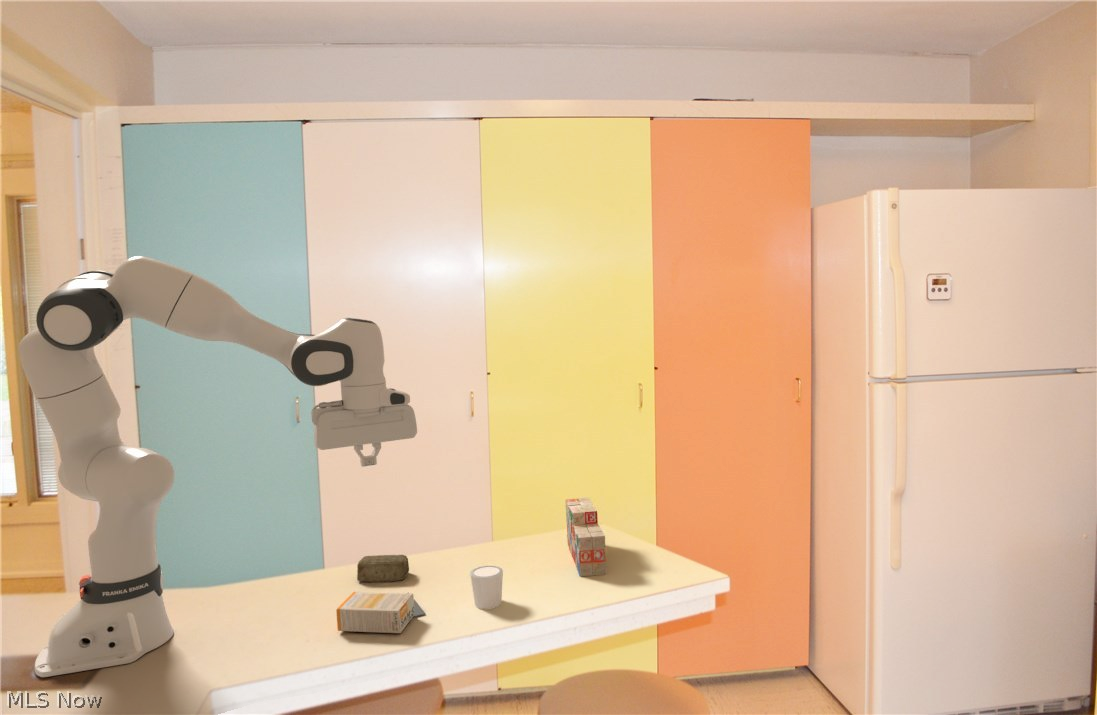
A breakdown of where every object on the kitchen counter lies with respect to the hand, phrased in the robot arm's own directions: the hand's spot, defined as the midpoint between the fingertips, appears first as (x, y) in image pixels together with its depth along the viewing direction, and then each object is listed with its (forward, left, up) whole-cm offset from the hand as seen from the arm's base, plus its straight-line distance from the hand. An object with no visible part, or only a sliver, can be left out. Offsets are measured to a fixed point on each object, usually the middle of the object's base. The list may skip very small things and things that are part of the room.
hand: (368, 465), depth 142 cm
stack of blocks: (+51, +2, -32) cm, 60 cm away
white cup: (+21, -8, -31) cm, 39 cm away
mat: (+1, 0, -31) cm, 31 cm away
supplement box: (-7, -1, -28) cm, 29 cm away
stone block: (+6, +18, -32) cm, 37 cm away
